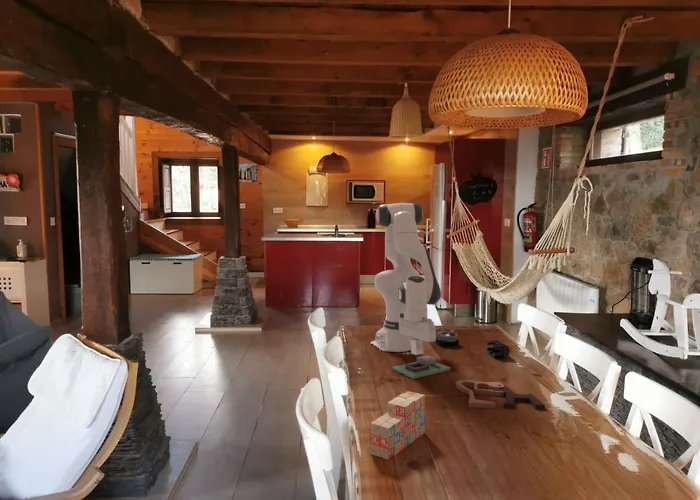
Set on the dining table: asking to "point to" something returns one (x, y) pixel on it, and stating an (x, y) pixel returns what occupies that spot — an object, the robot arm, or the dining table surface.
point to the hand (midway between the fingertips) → (417, 348)
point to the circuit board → (421, 367)
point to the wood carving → (495, 394)
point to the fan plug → (415, 347)
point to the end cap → (498, 349)
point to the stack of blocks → (398, 425)
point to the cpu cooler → (447, 339)
